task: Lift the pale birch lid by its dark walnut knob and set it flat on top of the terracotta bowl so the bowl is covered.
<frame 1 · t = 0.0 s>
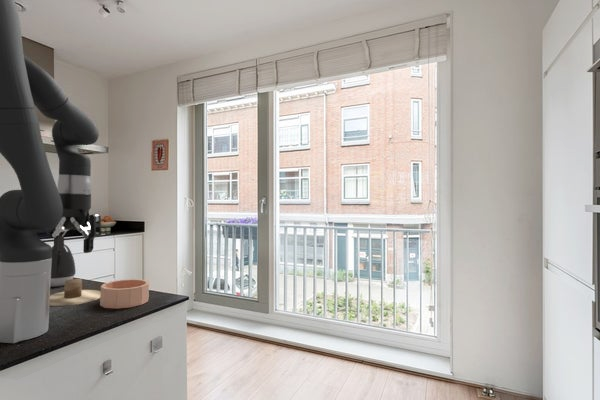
hand: (73, 251, 86), 17 cm above the worktop, tool pointing down, fingers open, 8 cm apart
pump dispenser: (57, 285, 115), on the worktop
bowl: (125, 301, 98), on the worktop
lid: (72, 299, 100), on the worktop
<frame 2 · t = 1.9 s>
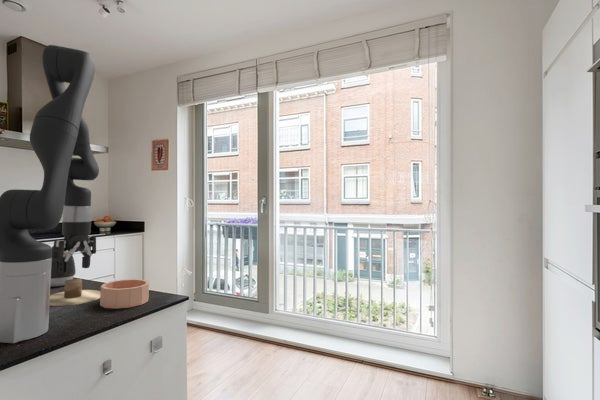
hand: (75, 270, 101), 9 cm above the worktop, tool pointing down, fingers open, 8 cm apart
nothing on the worktop moved.
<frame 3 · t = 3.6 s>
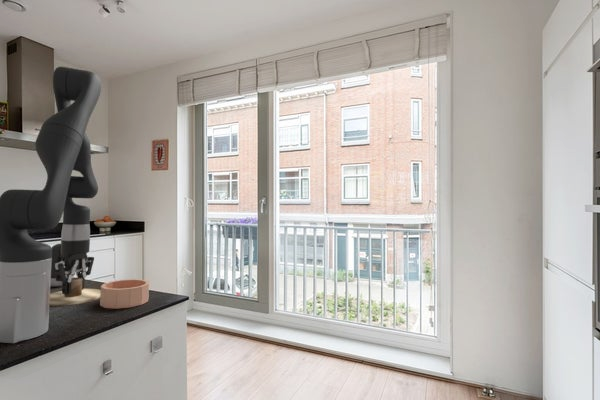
hand: (73, 291, 100), 2 cm above the worktop, tool pointing down, fingers closed on lid, 4 cm apart
lid: (72, 298, 100), on the worktop, touching gripper
everything else where it was.
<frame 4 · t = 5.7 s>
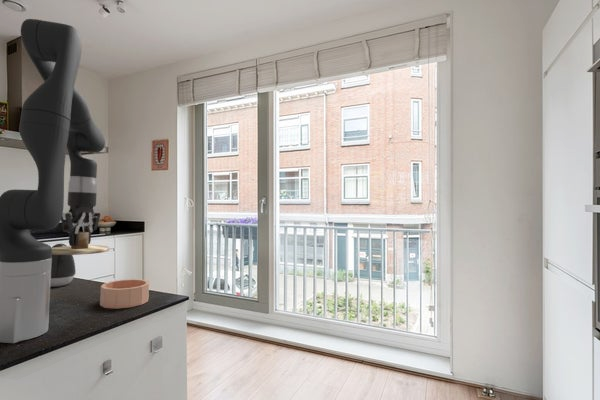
hand: (80, 244, 100), 17 cm above the worktop, tool pointing down, fingers closed on lid, 4 cm apart
lid: (79, 251, 100), point 15 cm above the worktop, touching gripper
everything else where it was.
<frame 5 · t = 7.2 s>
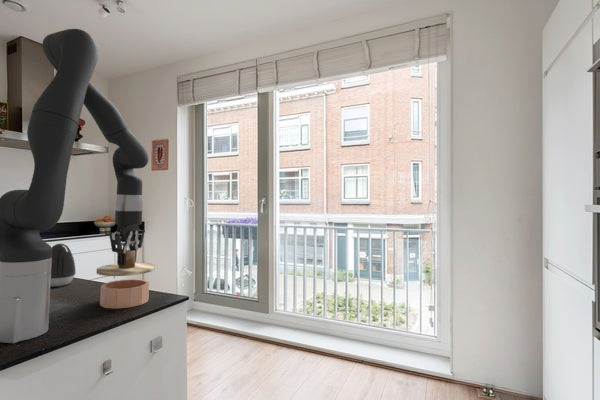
hand: (127, 263, 98), 12 cm above the worktop, tool pointing down, fingers closed on lid, 4 cm apart
lid: (126, 270, 98), point 10 cm above the worktop, touching gripper
everything else where it was.
when the fingers open (9 cm above the worktop, at t = 8.1 s): lid drops 1 cm, resting on bowl.
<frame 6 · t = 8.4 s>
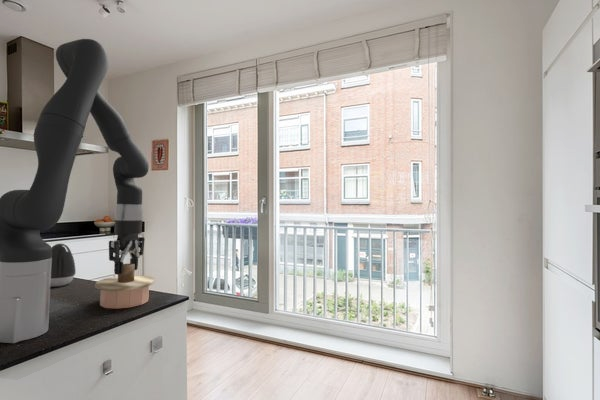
hand: (126, 271, 98), 9 cm above the worktop, tool pointing down, fingers open, 6 cm apart
lid: (125, 284, 98), point 5 cm above the worktop, touching bowl
everything else where it was.
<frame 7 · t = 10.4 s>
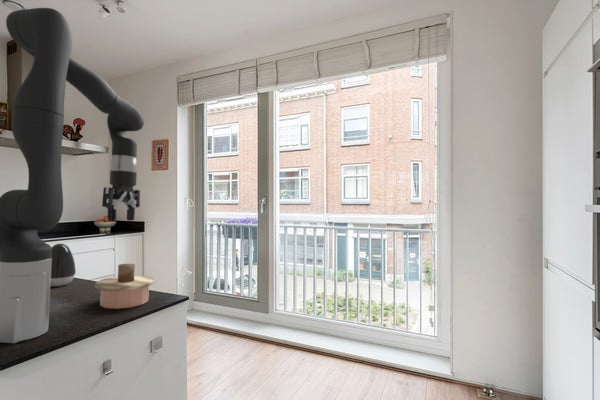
hand: (121, 220, 101), 25 cm above the worktop, tool pointing down, fingers open, 8 cm apart
nothing on the worktop moved.
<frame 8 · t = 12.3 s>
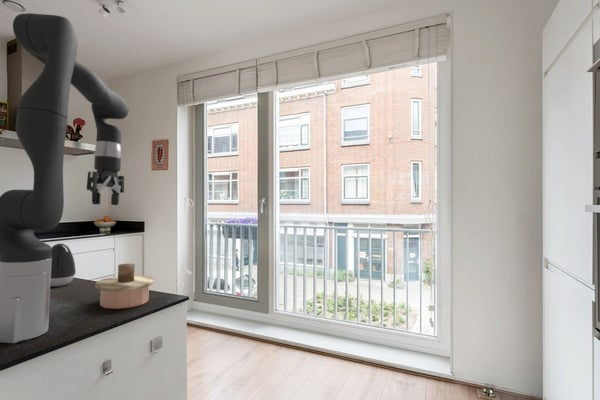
hand: (105, 204, 105), 30 cm above the worktop, tool pointing down, fingers open, 8 cm apart
nothing on the worktop moved.
at the end: lid 0.0 cm off-centre on the bowl, point 5.5 cm above the bowl's base; lid tilted 0°; the gripper is holding nothing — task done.
